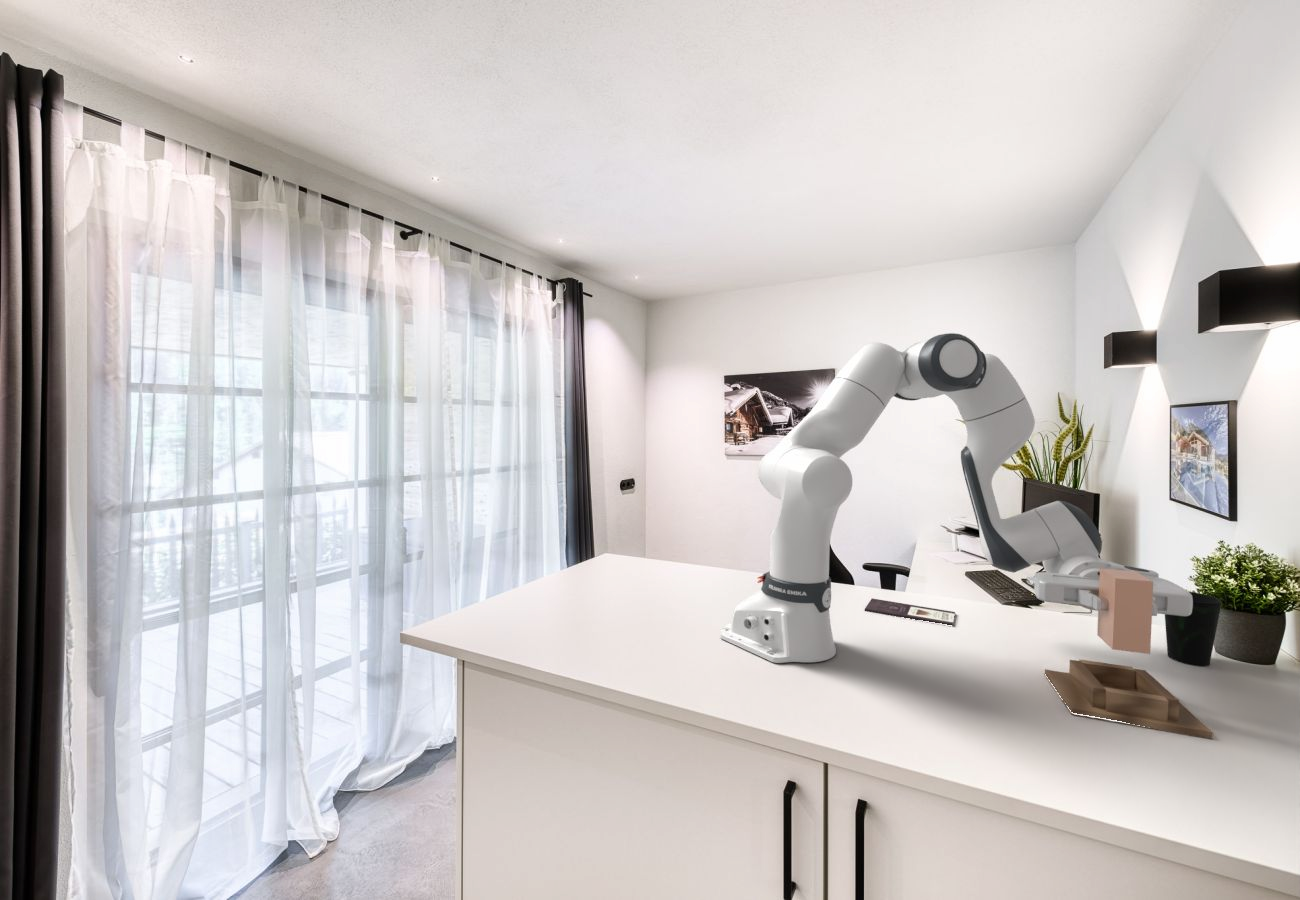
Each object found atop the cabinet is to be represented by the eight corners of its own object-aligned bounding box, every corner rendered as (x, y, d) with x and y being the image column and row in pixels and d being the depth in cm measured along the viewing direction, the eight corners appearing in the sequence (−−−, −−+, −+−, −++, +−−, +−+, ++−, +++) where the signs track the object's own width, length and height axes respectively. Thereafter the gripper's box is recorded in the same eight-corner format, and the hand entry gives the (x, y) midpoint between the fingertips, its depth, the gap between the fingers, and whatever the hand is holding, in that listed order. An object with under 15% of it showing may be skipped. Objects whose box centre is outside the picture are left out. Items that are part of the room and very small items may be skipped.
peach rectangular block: (1112, 649, 82) (1115, 578, 82) (1097, 635, 88) (1099, 568, 87) (1150, 654, 81) (1153, 581, 80) (1132, 639, 86) (1135, 571, 86)
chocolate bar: (871, 598, 134) (955, 612, 124) (871, 602, 134) (955, 616, 124) (864, 608, 126) (952, 624, 117) (864, 612, 126) (952, 628, 117)
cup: (1201, 654, 103) (1204, 592, 102) (1228, 671, 96) (1232, 605, 95) (1151, 648, 106) (1154, 588, 105) (1174, 665, 98) (1177, 600, 98)
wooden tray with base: (1071, 714, 81) (1073, 689, 81) (1044, 675, 94) (1045, 652, 94) (1212, 739, 75) (1213, 711, 75) (1162, 692, 88) (1163, 668, 88)
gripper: (1023, 560, 100) (1046, 580, 87) (1166, 571, 92) (1214, 595, 79) (1022, 593, 100) (1044, 618, 87) (1164, 608, 92) (1212, 637, 79)
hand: (1126, 608), depth 83 cm, fingers closed on peach rectangular block, 4 cm apart
